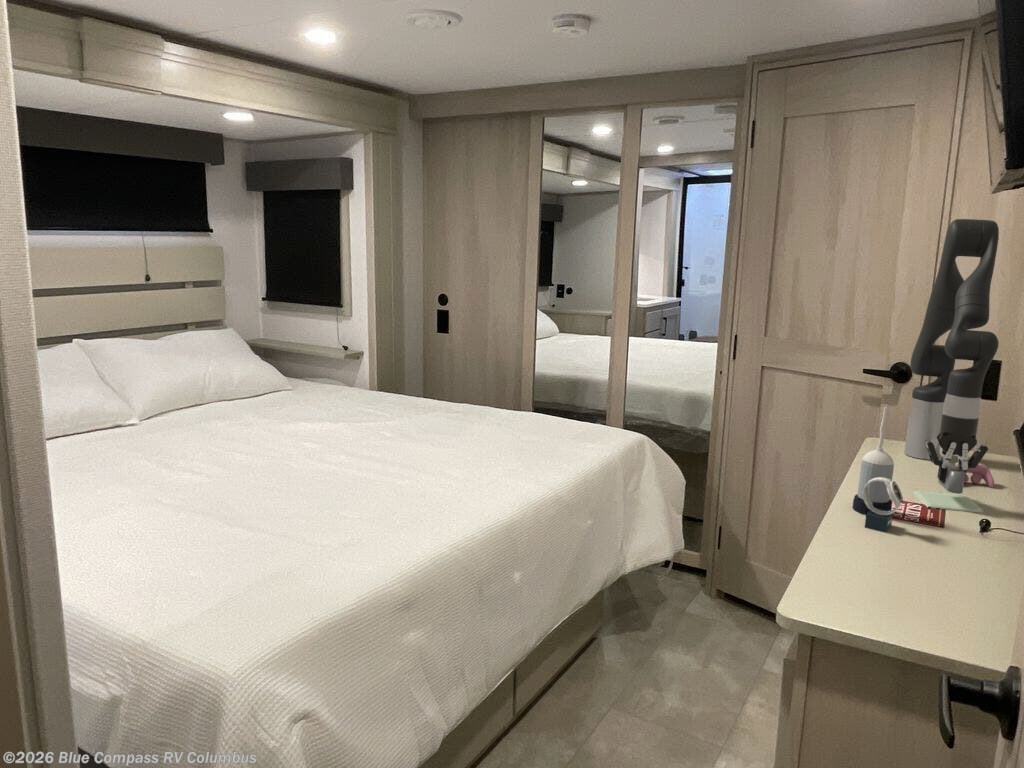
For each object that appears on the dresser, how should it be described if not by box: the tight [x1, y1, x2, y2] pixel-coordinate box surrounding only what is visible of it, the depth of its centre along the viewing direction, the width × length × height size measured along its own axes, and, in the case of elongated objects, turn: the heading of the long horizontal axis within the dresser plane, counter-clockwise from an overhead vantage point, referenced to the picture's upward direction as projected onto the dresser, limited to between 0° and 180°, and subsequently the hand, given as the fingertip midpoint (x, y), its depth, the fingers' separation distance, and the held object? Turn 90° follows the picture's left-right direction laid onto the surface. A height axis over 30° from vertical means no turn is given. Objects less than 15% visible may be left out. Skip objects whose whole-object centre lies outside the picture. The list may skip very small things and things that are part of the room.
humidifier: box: [852, 406, 895, 516], centre depth 171 cm, size 8×8×25 cm
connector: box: [936, 462, 965, 495], centre depth 180 cm, size 11×3×5 cm, turn 168°
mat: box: [913, 490, 985, 514], centre depth 180 cm, size 11×12×1 cm
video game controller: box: [954, 461, 995, 488], centre depth 195 cm, size 10×5×7 cm, turn 85°
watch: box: [862, 477, 904, 533], centre depth 163 cm, size 6×8×11 cm
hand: (950, 482), depth 179 cm, fingers closed on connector, 3 cm apart
